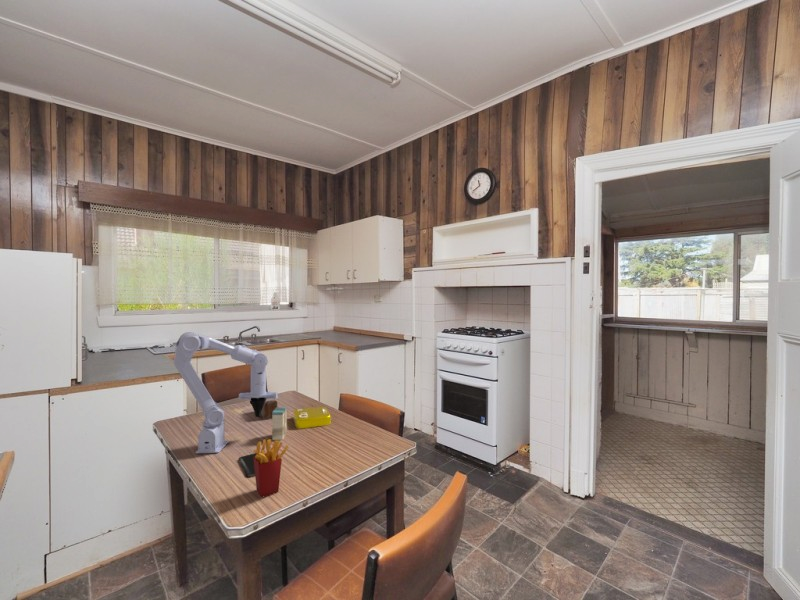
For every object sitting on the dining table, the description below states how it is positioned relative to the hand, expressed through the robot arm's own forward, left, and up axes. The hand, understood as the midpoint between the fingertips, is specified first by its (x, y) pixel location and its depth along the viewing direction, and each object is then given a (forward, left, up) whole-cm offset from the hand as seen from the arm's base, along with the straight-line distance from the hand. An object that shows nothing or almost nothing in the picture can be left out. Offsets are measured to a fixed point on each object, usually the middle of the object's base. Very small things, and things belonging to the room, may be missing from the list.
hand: (258, 416), depth 140 cm
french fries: (-38, -15, -9) cm, 42 cm away
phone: (-23, -6, -9) cm, 25 cm away
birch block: (0, -8, -8) cm, 12 cm away
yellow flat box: (+17, -18, -9) cm, 26 cm away
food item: (+27, +4, -9) cm, 28 cm away
